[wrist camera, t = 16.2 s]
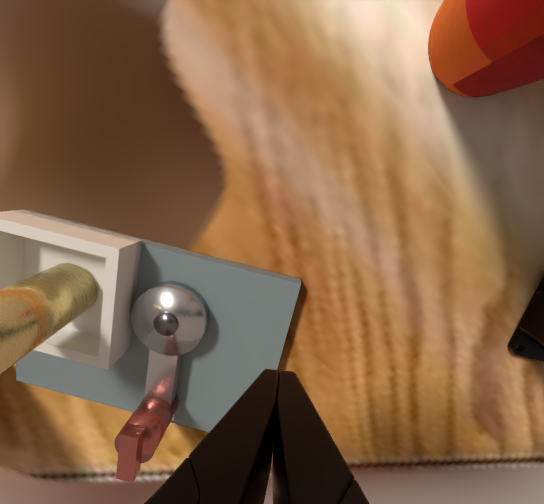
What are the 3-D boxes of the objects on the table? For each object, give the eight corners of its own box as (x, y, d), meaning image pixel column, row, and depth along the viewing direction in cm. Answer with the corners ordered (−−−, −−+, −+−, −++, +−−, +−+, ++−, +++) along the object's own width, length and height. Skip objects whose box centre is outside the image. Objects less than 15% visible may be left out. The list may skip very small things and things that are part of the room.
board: (300, 278, 20) (301, 284, 19) (257, 434, 23) (255, 445, 22) (28, 209, 20) (14, 211, 19) (27, 372, 24) (15, 380, 23)
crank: (144, 273, 19) (96, 303, 15) (214, 290, 19) (188, 325, 15) (130, 410, 23) (86, 470, 18) (190, 426, 22) (162, 490, 18)
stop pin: (82, 257, 19) (-34, 312, 12) (106, 304, 20) (12, 378, 13) (37, 270, 19) (-98, 329, 13) (63, 315, 20) (-49, 391, 14)
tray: (142, 240, 19) (119, 249, 17) (129, 348, 21) (108, 369, 19) (21, 209, 19) (-18, 214, 17) (21, 319, 21) (-14, 337, 19)
